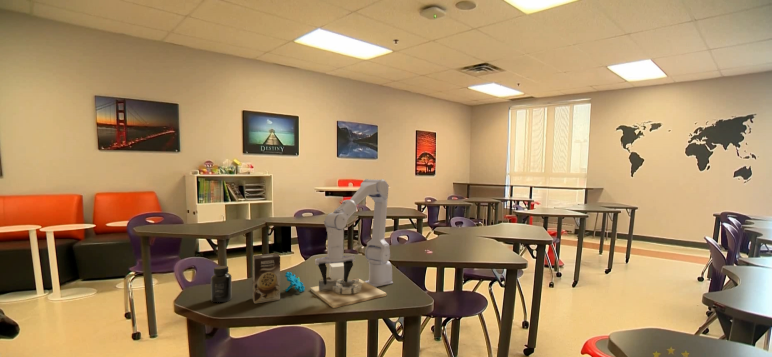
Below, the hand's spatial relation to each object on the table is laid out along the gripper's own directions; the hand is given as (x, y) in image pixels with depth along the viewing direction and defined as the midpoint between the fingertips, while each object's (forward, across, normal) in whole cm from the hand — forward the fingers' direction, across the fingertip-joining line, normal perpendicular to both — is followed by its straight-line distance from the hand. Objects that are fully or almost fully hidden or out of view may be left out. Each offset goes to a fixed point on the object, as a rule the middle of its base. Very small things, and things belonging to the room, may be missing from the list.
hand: (335, 282), depth 126 cm
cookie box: (+7, +24, -10) cm, 26 cm away
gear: (+7, +12, -15) cm, 21 cm away
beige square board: (+6, -6, -5) cm, 10 cm away
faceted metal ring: (+5, -3, -6) cm, 9 cm away
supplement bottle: (+7, +39, -15) cm, 42 cm away
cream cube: (+6, -7, -26) cm, 27 cm away
